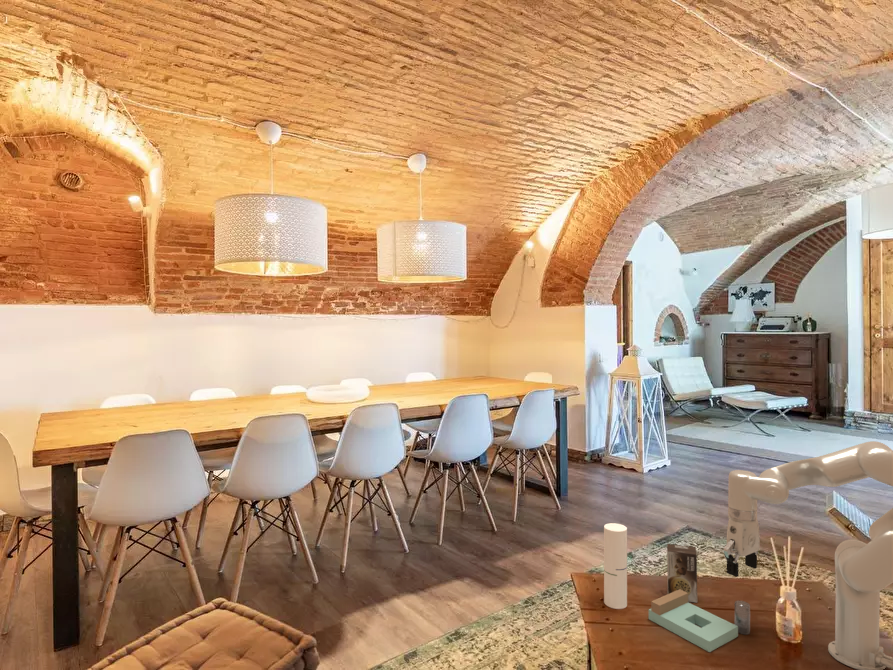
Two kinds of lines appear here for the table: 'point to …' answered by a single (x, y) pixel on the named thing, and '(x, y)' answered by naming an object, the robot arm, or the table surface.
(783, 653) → the table surface
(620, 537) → the cylindrical container
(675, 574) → the coffee box
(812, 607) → the table surface
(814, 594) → the table surface
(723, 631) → the jig
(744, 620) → the grey upright block
